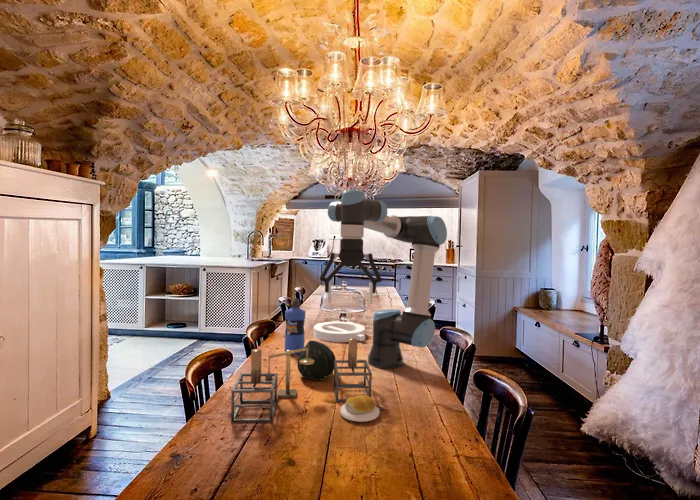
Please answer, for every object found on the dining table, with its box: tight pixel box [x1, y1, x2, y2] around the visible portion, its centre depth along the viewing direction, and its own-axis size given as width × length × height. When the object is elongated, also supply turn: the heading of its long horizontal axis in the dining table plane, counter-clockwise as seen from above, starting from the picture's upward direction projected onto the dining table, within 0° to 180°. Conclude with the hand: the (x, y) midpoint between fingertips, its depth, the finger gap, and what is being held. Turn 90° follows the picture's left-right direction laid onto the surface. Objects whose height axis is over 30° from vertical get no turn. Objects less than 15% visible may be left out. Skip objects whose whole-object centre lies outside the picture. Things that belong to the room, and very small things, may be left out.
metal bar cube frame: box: [333, 338, 373, 403], centre depth 135 cm, size 12×14×19 cm
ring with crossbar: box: [313, 321, 366, 343], centre depth 214 cm, size 28×28×5 cm
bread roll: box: [344, 394, 376, 414], centre depth 120 cm, size 8×9×4 cm
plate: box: [339, 403, 380, 423], centre depth 119 cm, size 12×12×2 cm
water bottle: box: [284, 297, 306, 356], centre depth 180 cm, size 9×9×25 cm
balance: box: [261, 348, 314, 399], centre depth 132 cm, size 18×5×16 cm, turn 95°
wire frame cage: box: [230, 348, 278, 424], centre depth 119 cm, size 12×14×19 cm
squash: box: [297, 340, 336, 381], centre depth 150 cm, size 14×15×15 cm
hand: (350, 302), depth 128 cm, fingers open, 13 cm apart
